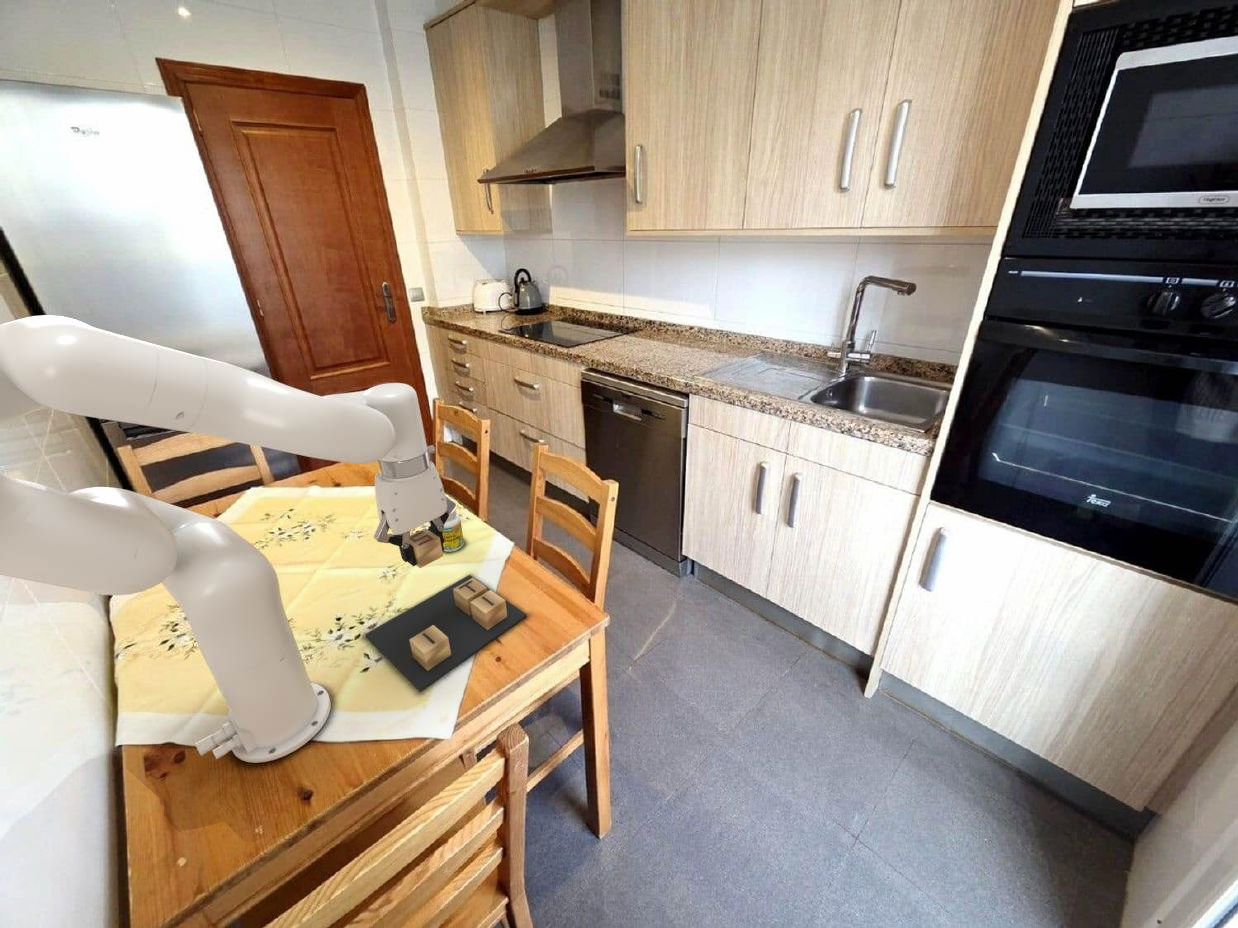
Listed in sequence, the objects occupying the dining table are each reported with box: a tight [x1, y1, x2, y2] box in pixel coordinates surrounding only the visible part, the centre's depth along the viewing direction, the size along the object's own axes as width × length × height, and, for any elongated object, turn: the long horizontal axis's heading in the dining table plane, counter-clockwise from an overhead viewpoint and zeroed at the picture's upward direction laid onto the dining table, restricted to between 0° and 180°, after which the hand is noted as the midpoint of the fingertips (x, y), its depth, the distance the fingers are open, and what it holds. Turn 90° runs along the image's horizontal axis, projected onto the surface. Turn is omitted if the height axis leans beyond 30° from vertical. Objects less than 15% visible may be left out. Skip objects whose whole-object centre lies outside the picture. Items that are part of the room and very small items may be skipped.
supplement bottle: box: [442, 507, 465, 553], centre depth 113 cm, size 5×5×10 cm
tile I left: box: [409, 625, 451, 671], centre depth 84 cm, size 4×4×4 cm
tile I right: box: [470, 589, 507, 630], centre depth 93 cm, size 4×4×4 cm
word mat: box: [365, 574, 528, 693], centre depth 92 cm, size 22×18×1 cm
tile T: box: [453, 577, 488, 616], centre depth 96 cm, size 4×4×4 cm
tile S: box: [410, 527, 444, 569], centre depth 87 cm, size 4×4×4 cm
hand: (424, 554), depth 88 cm, fingers closed on tile S, 4 cm apart
